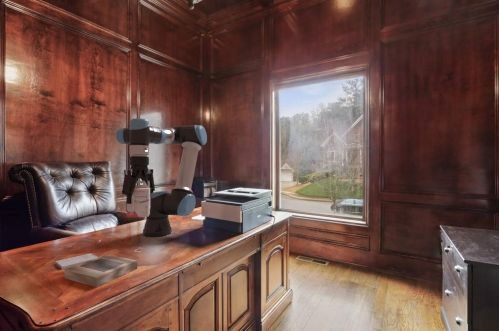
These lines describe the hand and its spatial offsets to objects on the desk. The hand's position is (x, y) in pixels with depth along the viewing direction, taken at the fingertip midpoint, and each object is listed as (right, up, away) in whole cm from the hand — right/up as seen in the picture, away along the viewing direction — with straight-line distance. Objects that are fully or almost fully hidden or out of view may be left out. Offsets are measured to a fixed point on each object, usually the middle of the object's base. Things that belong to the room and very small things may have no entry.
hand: (139, 209), depth 111 cm
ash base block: (-6, -19, -18) cm, 27 cm away
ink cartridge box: (0, -3, 0) cm, 3 cm away
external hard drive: (-22, -20, -7) cm, 30 cm away
